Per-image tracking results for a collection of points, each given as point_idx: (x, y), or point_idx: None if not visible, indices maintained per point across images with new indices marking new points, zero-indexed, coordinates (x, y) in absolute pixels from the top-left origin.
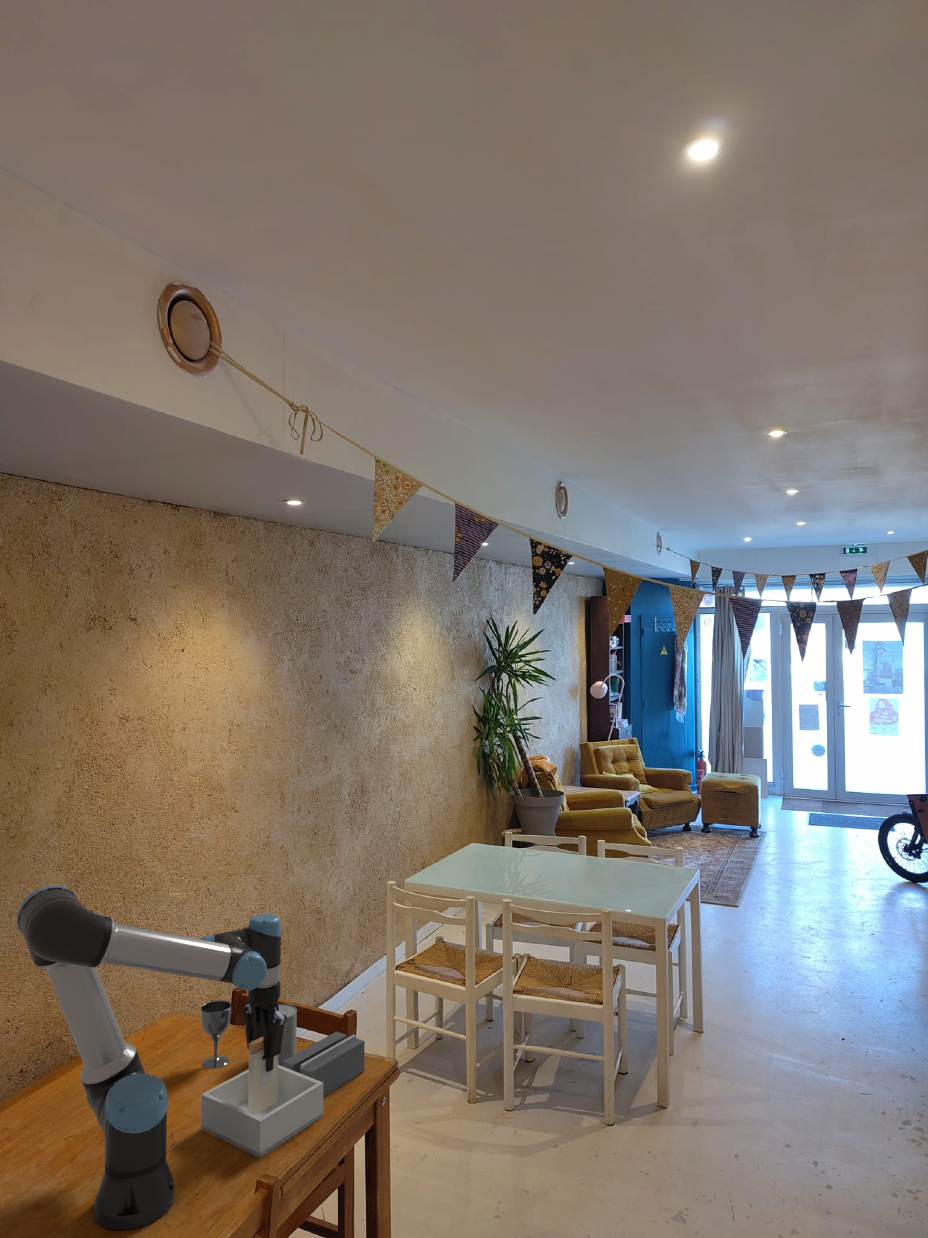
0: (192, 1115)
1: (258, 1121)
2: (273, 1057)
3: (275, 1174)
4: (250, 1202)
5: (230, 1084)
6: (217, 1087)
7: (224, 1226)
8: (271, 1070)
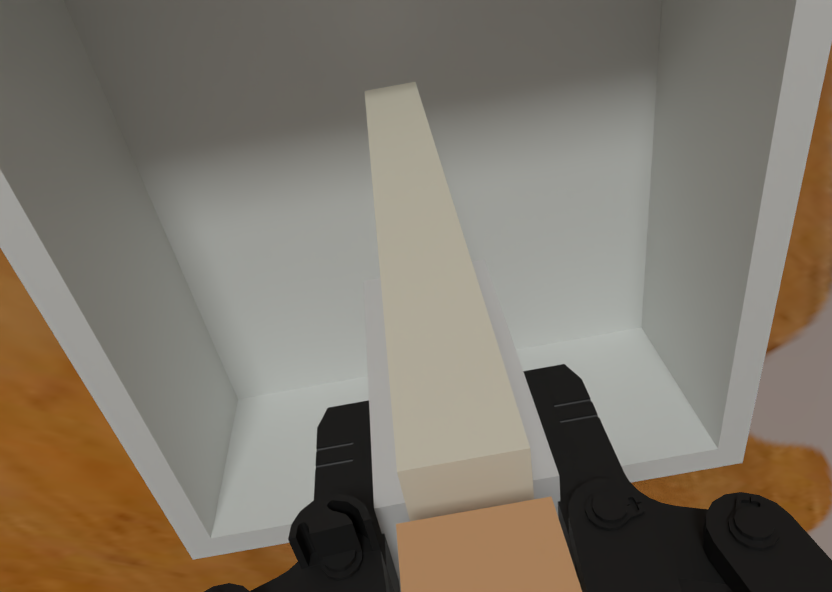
0: (58, 385)
1: (724, 462)
2: (630, 483)
3: (795, 331)
4: (810, 451)
5: (138, 386)
6: (164, 483)
7: (805, 530)
8: (508, 335)
